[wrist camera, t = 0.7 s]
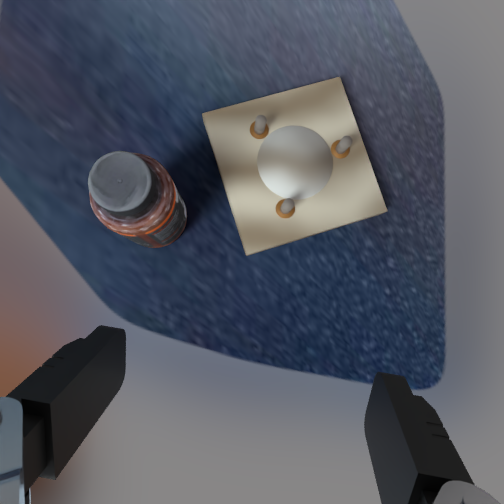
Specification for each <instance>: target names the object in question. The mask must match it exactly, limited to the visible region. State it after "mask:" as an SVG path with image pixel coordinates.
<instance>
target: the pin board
mask: <svg viewBox="0 0 504 504" xmlns="http://www.w3.org/2000/svg"><path fill="white" fill-rule="evenodd" d="M202 116H203V121H204V124H205V128H206V131H207V134H208V137H209V140H210V143H211V147H212V150H213V153H214V156H215V159H216V162H217V165H218V169H219V172H220V175H221V178H222V181H223V184H224V187H225V191H226V194H227V197H228V200H229V203H230V206H231V210H232V213H233V216H234V219H235V222H236V225H237V228H238V232H239V235H240V238H241V241H242V244H243V247H244V250H245V254H246V256H248V255H251V254H254V253H258V252H261V251H264V250H267V249H270V248H274V247H277V246H280V245H283V244H286V243H290V242H293V241H296V240H299V239H303V238H306V237H309V236H312V235H315V234H319V233H322V232H325V231H328V230H331V229H335V228H338V227H341V226H344V225H348V224H351V223H354V222H357V221H360V220H364V219H367V218H370V217H373V216H376V215H380V214H383V213H385V212H387V208H386V206H385V203H384V200H383V197H382V194H381V191H380V189H379V186H378V183H377V180H376V177H375V175H374V172H373V169H372V166H371V163H370V160H369V158H368V155H367V152H366V149H365V146H364V143H363V141H362V138H361V135H360V132H359V129H358V127H357V124H356V121H355V118H354V115H353V112H352V110H351V107H350V104H349V101H348V98H347V95H346V93H345V90H344V87H343V84H342V81H341V79H340V77H337V78H333V79H329V80H326V81H322V82H318V83H314V84H311V85H307V86H303V87H299V88H296V89H292V90H288V91H284V92H281V93H277V94H273V95H269V96H266V97H262V98H258V99H255V100H251V101H247V102H243V103H240V104H236V105H232V106H228V107H225V108H221V109H217V110H213V111H210V112H206V113H202Z"/></svg>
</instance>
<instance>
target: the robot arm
mask: <svg viewBox="0 0 504 504" xmlns="http://www.w3.org/2000/svg"><path fill="white" fill-rule="evenodd" d="M125 361H126V334H125V330H124V329H120V328H114V327H108V326H102V325H101V326H98V327H97V328H96V329H95V330H94V331H93V332H92V333H91V334H90V335H88V337H86V338H85V339H83V338H79V339H77V340H75V341H73V342H70V343H69V344H66V345H64V346H63V347H62V348H61V349H59V351H57V352H56V353H55V354H54V355H53V356H52V358H49V359H48V360H47V361H46V362H45V363H43V365H42V367H39V368H38V369H37V370H35V371H34V372H33V373H32V374H31V375H30V376H29V377H27V379H25V380H24V381H23V382H22V383H21V384H20V385H18V386H17V387H16V388H15V389H14V390H13V391H12V392H11V393H9V394H8V395H7V396H6V397H0V504H31V494H30V487H31V486H32V485H33V483H34V482H35V481H36V479H37V478H38V477H43V478H48V479H53V480H56V478H57V477H58V475H59V474H60V473H61V471H62V470H63V468H64V467H65V466H66V464H67V463H68V461H69V460H70V458H71V457H72V456H73V454H74V453H75V452H76V450H77V449H78V447H79V446H80V445H81V443H82V442H83V440H84V439H85V437H86V436H87V435H88V433H89V432H90V430H91V429H92V428H93V426H94V425H95V423H96V422H97V421H98V419H99V418H100V416H101V415H102V414H103V412H104V411H105V409H106V407H108V405H109V404H110V402H111V401H112V400H113V398H114V397H115V395H116V394H117V393H118V391H119V390H120V387H121V385H122V383H123V380H124V376H125V367H126V362H125ZM364 423H365V424H364V425H365V427H364V428H365V436H366V440H367V445H368V449H369V453H370V457H371V461H372V465H373V469H374V474H375V478H376V482H377V486H378V490H379V494H380V498H381V503H382V504H500V503H499V502H498V501H497V500H496V499H495V498H493V497H492V496H491V495H490V494H488V493H487V492H485V491H484V490H482V489H481V488H479V487H477V486H475V485H474V483H473V481H472V479H471V477H470V475H469V473H468V472H467V470H466V468H465V466H464V464H463V462H462V460H461V458H460V456H459V454H458V453H457V451H456V449H455V447H454V445H453V443H452V441H451V440H449V436H448V434H447V432H446V430H445V428H443V424H442V422H441V420H440V418H439V416H438V414H437V413H436V411H435V409H433V407H431V405H430V404H429V403H427V401H425V399H424V398H423V397H422V396H416V395H413V394H412V391H411V389H410V387H409V385H408V383H407V381H406V379H405V377H404V376H400V375H394V374H388V373H382V372H378V373H377V374H376V376H375V378H374V382H373V386H372V390H371V394H370V398H369V402H368V405H367V410H366V414H365V422H364Z"/></svg>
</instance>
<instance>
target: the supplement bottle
mask: <svg viewBox="0 0 504 504" xmlns="http://www.w3.org/2000/svg"><path fill="white" fill-rule="evenodd" d="M88 186H89V196H90V203H91V206H92V209H93V211H94V213H95V215H96V216H97V218H98V219H99V220H100V221H101V222H102V223H103V224H104V225H105V226H106V227H108V228H109V229H111V230H113V231H115V232H116V233H118V234H120V235H122V236H124V237H126V238H127V239H129V240H131V241H133V242H135V243H137V244H139V245H142V246H145V247H151V248H158V247H163V246H167V245H169V244H171V243H172V242H174V241H175V240H176V239H177V238H178V237H179V236H180V235H181V234H182V232H183V230H184V228H185V225H186V221H187V211H186V207H185V204H184V202H183V199H182V197H181V196H180V194H179V192H178V190H177V188H176V186H175V184H174V182H173V180H172V178H171V177H170V175H169V173H168V172H167V170H166V169H165V168H164V167H163V166H162V165H161V164H160V163H159V162H157V161H156V160H155V159H153V158H151V157H150V156H146V155H143V154H139V153H130V152H125V151H115V152H111V153H108V154H106V155H104V156H102V157H101V158H100V159H98V160H97V161H96V162H95V164H94V165H93V167H92V169H91V171H90V173H89V178H88Z"/></svg>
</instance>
